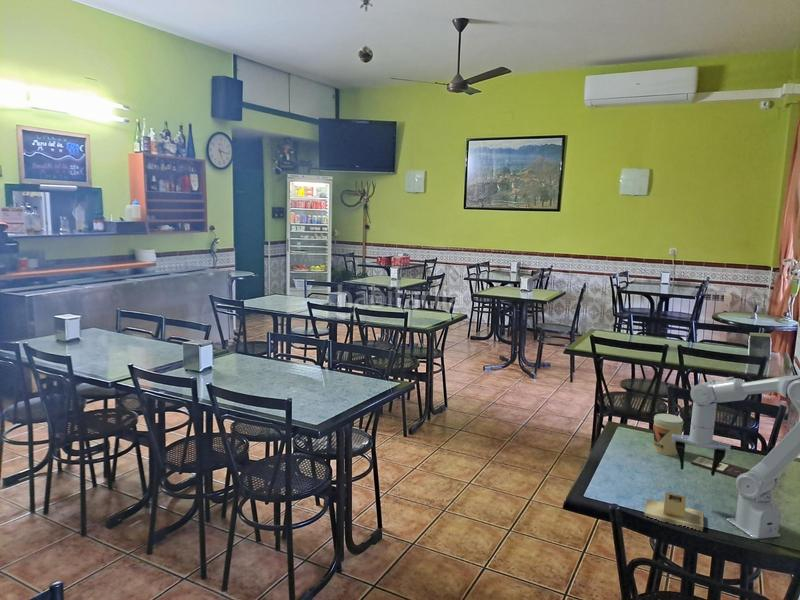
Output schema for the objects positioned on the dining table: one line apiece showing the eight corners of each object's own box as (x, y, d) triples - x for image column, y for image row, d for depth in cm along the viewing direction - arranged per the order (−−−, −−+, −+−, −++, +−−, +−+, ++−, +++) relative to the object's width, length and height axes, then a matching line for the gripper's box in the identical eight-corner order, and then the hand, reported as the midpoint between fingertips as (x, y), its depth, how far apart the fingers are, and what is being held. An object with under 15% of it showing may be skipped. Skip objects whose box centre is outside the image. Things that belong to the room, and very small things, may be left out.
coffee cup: (645, 446, 204) (648, 413, 202) (668, 445, 206) (672, 412, 204) (661, 457, 195) (665, 423, 193) (686, 456, 197) (690, 422, 195)
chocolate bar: (753, 481, 178) (691, 462, 190) (752, 484, 178) (690, 465, 190) (761, 473, 184) (700, 455, 196) (760, 476, 184) (700, 458, 197)
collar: (684, 510, 157) (685, 496, 156) (683, 518, 153) (685, 504, 152) (664, 505, 159) (665, 492, 159) (663, 513, 155) (664, 499, 154)
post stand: (702, 515, 157) (704, 500, 156) (702, 531, 149) (704, 515, 148) (646, 502, 163) (648, 487, 163) (644, 517, 155) (645, 501, 155)
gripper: (731, 425, 161) (725, 471, 163) (674, 415, 168) (669, 460, 170) (732, 433, 155) (727, 481, 157) (673, 423, 161) (668, 469, 163)
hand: (697, 471), depth 163 cm, fingers open, 7 cm apart
